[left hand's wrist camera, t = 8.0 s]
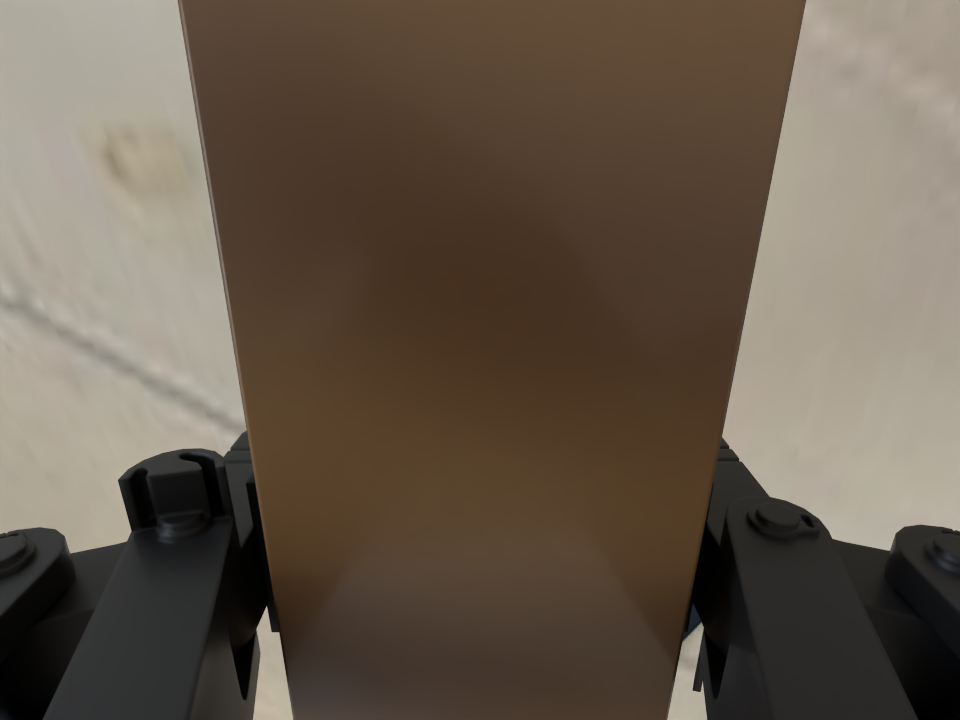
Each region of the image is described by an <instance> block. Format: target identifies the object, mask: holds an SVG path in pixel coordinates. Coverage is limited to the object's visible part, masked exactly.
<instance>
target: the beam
mask: <svg viewBox="0 0 960 720" xmlns="http://www.w3.org/2000/svg"><path fill="white" fill-rule="evenodd" d="M805 3H806V0H178V5H179V11H180V17H181V24H182V30H183V36H184V42H185V49H186V55H187V61H188V67H189V73H190V80H191V86H192V92H193V98H194V104H195V111H196V117H197V123H198V129H199V136H200V142H201V148H202V154H203V160H204V167H205V173H206V179H207V185H208V191H209V198H210V204H211V210H212V216H213V223H214V229H215V235H216V241H217V247H218V254H219V260H220V266H221V272H222V278H223V285H224V291H225V297H226V303H227V310H228V316H229V322H230V328H231V334H232V341H233V347H234V353H235V359H236V365H237V372H238V378H239V384H240V390H241V397H242V403H243V409H244V415H245V421H246V428H247V434H248V440H249V446H250V452H251V459H252V465H253V471H254V477H255V484H256V490H257V496H258V502H259V508H260V515H261V521H262V527H263V533H264V539H265V546H266V552H267V558H268V564H269V571H270V577H271V583H272V589H273V595H274V602H275V608H276V614H277V620H278V626H279V633H280V639H281V645H282V651H283V658H284V664H285V670H286V676H287V682H288V689H289V695H290V701H291V707H292V713H293V720H667V718H668V713H669V707H670V702H671V697H672V692H673V687H674V682H675V676H676V671H677V666H678V661H679V656H680V651H681V645H682V640H683V635H684V630H685V625H686V619H687V614H688V609H689V604H690V599H691V594H692V588H693V583H694V578H695V573H696V568H697V562H698V557H699V552H700V547H701V542H702V537H703V531H704V526H705V521H706V516H707V511H708V506H709V500H710V495H711V490H712V485H713V480H714V474H715V469H716V464H717V459H718V454H719V449H720V443H721V438H722V433H723V428H724V423H725V417H726V412H727V407H728V402H729V397H730V392H731V386H732V381H733V376H734V371H735V366H736V361H737V355H738V350H739V345H740V340H741V335H742V329H743V324H744V319H745V314H746V309H747V304H748V298H749V293H750V288H751V283H752V278H753V273H754V267H755V262H756V257H757V252H758V247H759V241H760V236H761V231H762V226H763V221H764V216H765V210H766V205H767V200H768V195H769V190H770V184H771V179H772V174H773V169H774V164H775V159H776V153H777V148H778V143H779V138H780V133H781V128H782V122H783V117H784V112H785V107H786V102H787V96H788V91H789V86H790V81H791V76H792V71H793V65H794V60H795V55H796V50H797V45H798V39H799V34H800V29H801V24H802V19H803V14H804V8H805Z"/></svg>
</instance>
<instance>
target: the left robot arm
mask: <svg viewBox="0 0 960 720" xmlns="http://www.w3.org/2000/svg"><path fill="white" fill-rule="evenodd" d="M118 482H119V486H120V490H121V493H122V497H123V501H124V504H125V508H126V512H127V515H128V519H129V523H130V526H131V530H132V532H131V534H130V536H129V538H128V541H127V542H124V543H120V544H116V545H111V546H106V547H101V548H96V549H91V550H86V551H81V552H76V553H71V554H70V552H69V549H68V546H67V542H66V539H65V536H64V535H62V534H61V533H60V532H58V531H57V530H55V529H48V528H40V527H39V528H31V529H22V530H15V531H10V532H8V533H6V534H5V533H3V534H0V720H253V713H254V705H255V696H256V687H257V679H258V670H259V662H260V648H259V641H258V636H257V631H256V628H257V626H258V624H259V622H260V620H261V617H262V615H263V613H264V611H265V608H266V606H267V608H268V613H269V619H270V625H271V630H272V632H279V626H278V620H277V614H276V608H275V602H274V595H273V589H272V583H271V577H270V571H269V564H268V558H267V552H266V546H265V539H264V533H263V527H262V521H261V515H260V508H259V502H258V496H257V490H256V484H255V477H254V471H253V465H252V459H251V452H250V446H249V440H248V434H247V431H245V432H244V433H242V434H241V436H240V437H239V438H238V439H237V441H236V442H235V443H234V445H233V446H232V447H231V450H230V451H228V452H227V453H226V455H225V456H224V457H222V456H221V455H219V454H218V453H217V452H215V451H211V450H206V449H181V450H176V451H171V452H166V453H162V454H159V455H156V456H154V457H151V458H148V459H146V460H143V461H142V462H140V463H138V464H136V465H135V466H133V467H131V468H130V469H128V470H127V471H126V472H125V473H124V474H123V475H122V476H121V477H120V478H119V480H118ZM693 604H694V607H695V609H696V611H697V613H698V615H699V618H700V620H701V622H702V624H703V626H704V631H703V636H702V641H701V646H700V652H699V657H698V662H697V668H696V673H695V678H694V685H693V691H698V692H701V687H702V682H703V686H704V695H705V703H706V712H707V720H960V531H957V530H955V531H953V530H952V529H949V528H944V527H936V526H927V525H915V526H908V527H904V528H902V529H901V530H900V531H898V532H897V533H896V534H895V538H894V541H893V544H892V547H891V550H890V551H887V550H882V549H877V548H872V547H866V546H861V545H856V544H851V543H846V542H842V541H838V540H834V539H832V537H831V535H830V533H829V531H828V530H827V528H826V527H825V526H824V525H823V523H822V522H821V521H820V520H819V519H818V518H817V517H815V516H814V515H813V514H811V513H810V512H808V511H807V510H805V509H804V508H802V507H799V506H797V505H795V504H792V503H790V502H788V501H785V500H780V499H776V498H772V497H769V495H768V494H767V493H766V492H765V490H764V489H763V488H762V487H761V485H760V484H759V483H758V482H757V480H756V479H755V478H754V477H753V475H752V474H751V473H750V472H749V470H748V469H747V468H746V467H745V465H744V464H743V463H742V462H739V458H738V457H737V455H736V454H735V453H734V452H733V450H732V449H729V445H728V444H727V443H726V441H725V440H724V439H723V438H721V443H720V449H719V454H718V459H717V464H716V469H715V474H714V480H713V485H712V490H711V495H710V500H709V506H708V511H707V516H706V521H705V526H704V531H703V537H702V542H701V547H700V552H699V557H698V562H697V568H696V573H695V578H694V583H693V588H692V594H691V599H690V604H689V609H688V614H687V619H686V625H685V630H684V632H688V628H689V622H690V617H691V611H692V605H693Z"/></svg>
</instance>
